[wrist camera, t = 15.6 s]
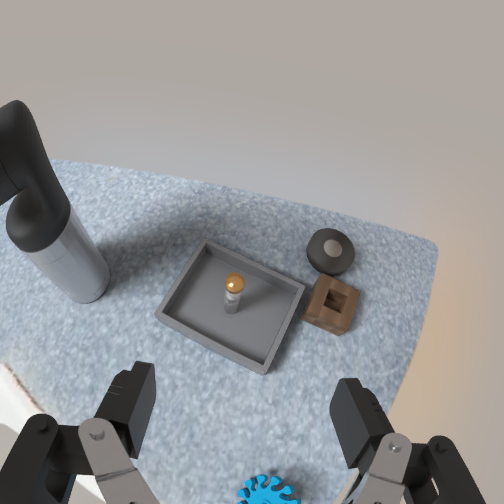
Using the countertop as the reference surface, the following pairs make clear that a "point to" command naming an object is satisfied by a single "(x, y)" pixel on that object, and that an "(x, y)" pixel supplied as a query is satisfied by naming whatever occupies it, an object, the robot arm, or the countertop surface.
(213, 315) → the tray
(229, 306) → the lock pin
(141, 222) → the countertop surface
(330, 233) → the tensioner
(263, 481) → the gear
